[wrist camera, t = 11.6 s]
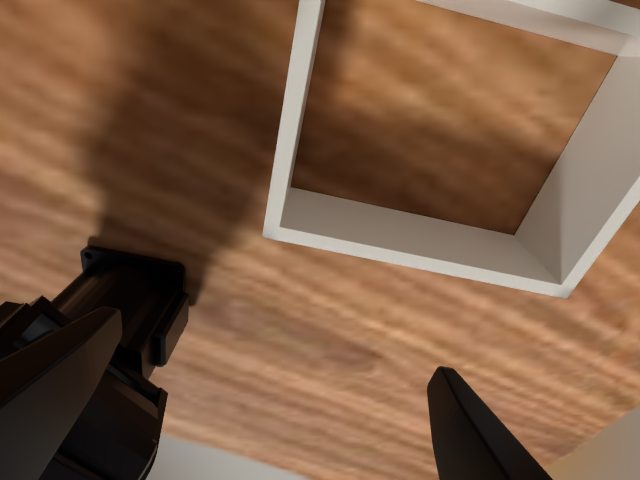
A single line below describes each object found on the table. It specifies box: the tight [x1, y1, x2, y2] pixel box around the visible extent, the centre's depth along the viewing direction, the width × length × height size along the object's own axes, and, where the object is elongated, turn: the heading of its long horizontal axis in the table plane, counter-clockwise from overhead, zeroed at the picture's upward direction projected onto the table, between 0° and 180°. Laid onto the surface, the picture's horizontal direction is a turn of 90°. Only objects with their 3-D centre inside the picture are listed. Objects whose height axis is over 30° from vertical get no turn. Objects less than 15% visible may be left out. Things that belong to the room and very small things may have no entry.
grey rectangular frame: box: [262, 0, 640, 299], centre depth 16 cm, size 15×11×5 cm
